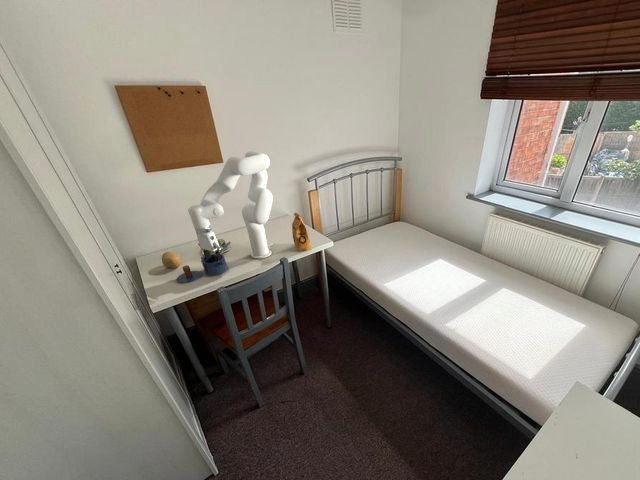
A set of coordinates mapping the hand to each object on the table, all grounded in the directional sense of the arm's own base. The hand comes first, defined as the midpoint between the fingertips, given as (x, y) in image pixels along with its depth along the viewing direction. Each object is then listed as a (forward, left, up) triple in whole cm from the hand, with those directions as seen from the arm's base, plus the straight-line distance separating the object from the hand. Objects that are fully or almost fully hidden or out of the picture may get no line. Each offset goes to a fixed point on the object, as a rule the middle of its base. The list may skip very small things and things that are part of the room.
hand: (213, 259), depth 161 cm
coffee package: (-45, +26, -8) cm, 53 cm away
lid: (+12, -8, -7) cm, 16 cm away
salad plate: (-19, -23, -8) cm, 31 cm away
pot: (+1, 0, -8) cm, 8 cm away
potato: (+7, -28, -8) cm, 30 cm away
